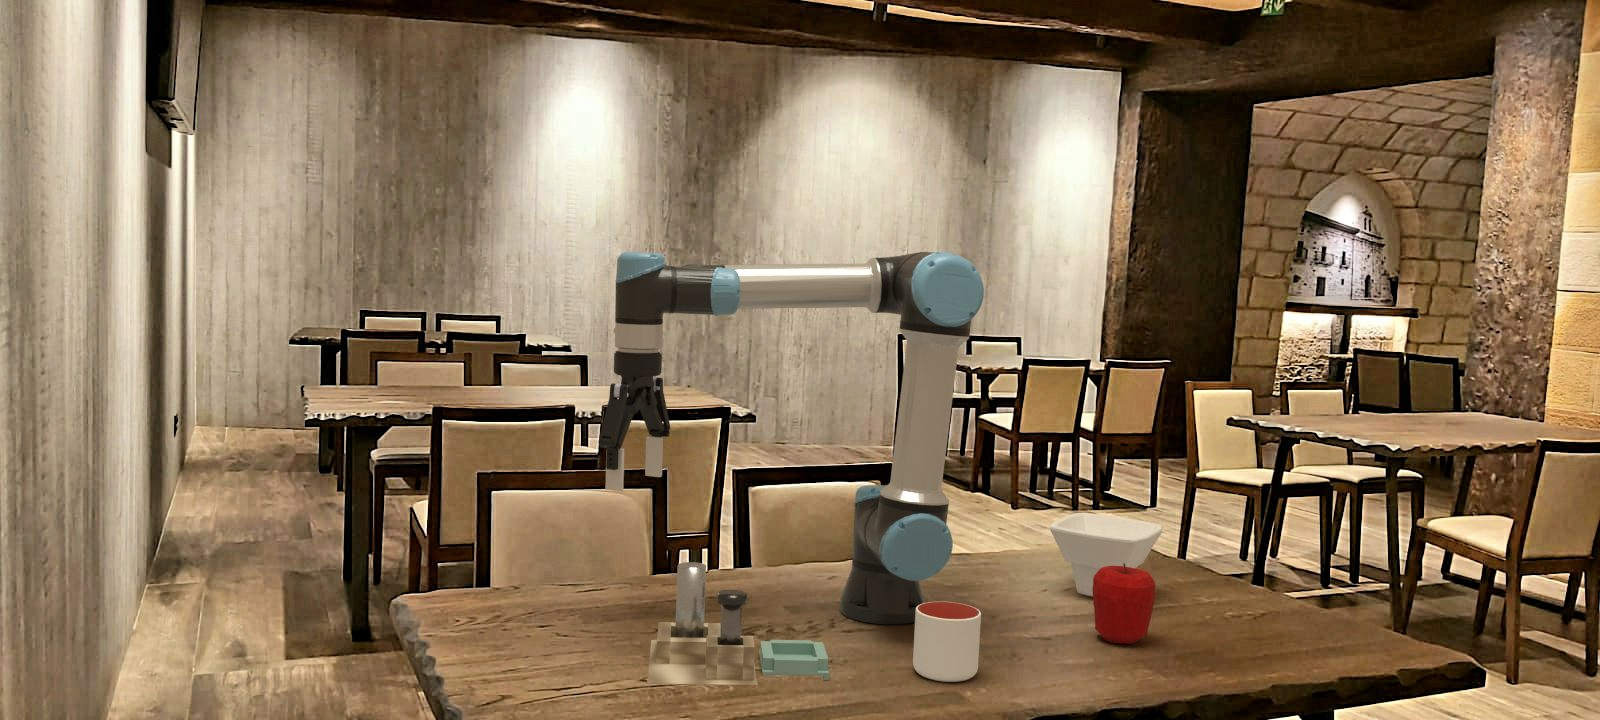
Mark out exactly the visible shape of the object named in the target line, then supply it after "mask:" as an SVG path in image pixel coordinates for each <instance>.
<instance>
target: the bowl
mask: <svg viewBox="0 0 1600 720" xmlns="http://www.w3.org/2000/svg"><path fill="white" fill-rule="evenodd" d="M1163 528H1164V526H1163V525H1162V524H1159V523H1155V522H1154V523H1153V522H1149V521H1144V520H1140V519H1139V520H1138V519H1133V518H1128V517H1122V516H1121V517H1120V516H1115V515H1105V514H1098V513H1090V512H1089V513H1088V512H1077V513H1072V514H1068V515H1067V516H1064V517H1061V518H1058V519H1056V520H1055V521H1053V522H1052V523H1051V524H1050V526H1049V530H1050V532H1051V535H1052V537H1053V539H1054V541H1055V543H1056V545H1057V546H1058V549H1059V551H1060V553H1061V556H1063V558H1064V562H1066V563H1067V562H1068V563H1070V565H1071V569H1072V570H1071V571H1072V574H1073V578H1074V584H1075V588H1076V592H1077V593H1078V594H1081V595H1085V596H1089V597H1093V592H1092V589H1093V577H1094V575H1095V574H1096V573H1097V572H1098V570H1099V569H1100V568H1102V567H1106V566H1124V565H1123V564H1124V563H1125V567H1130V568H1136V569H1137V568H1138V567H1139V566H1140V565H1142V564H1144V562H1145V560H1146V559H1147V557H1148V555H1149V554H1150V552H1151V550H1152V549H1153V548H1154V546H1155V544H1156V542H1157V541H1158V540H1159V537H1160V536H1161V534H1162V533H1163V530H1164V529H1163Z"/></svg>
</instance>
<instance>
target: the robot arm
mask: <svg viewBox="0 0 1600 720" xmlns="http://www.w3.org/2000/svg"><path fill="white" fill-rule="evenodd" d="M984 295H985V290H984V283H983V280H982V277H981V274H980V273H979V271H978V270H977V268H976V267H975V265H974V264H973V263H972V262H971V261H969V260H968V259H966V258H965V257H962V256H960V255H958V254H955V253H953V252H952V253H951V252H947V251H945V252H942V251H941V252H939V251H937V252H935V251H933V252H931V251H920V252H919V251H918V252H914V253H907V254H903V255H902V254H901V255H893V256H887V257H882V256H881V257H870V258H869V259H868V260H867V262H865V263H793V264H791V263H790V264H789V263H787V264H786V263H785V264H784V263H783V264H782V263H781V264H723V265H721V264H704V265H703V264H701V265H700V264H695V263H693V264H692V263H690V264H684V265H682V266H673V265H667V262H666V259H665V255H664V254H663V253H657V252H637V251H636V252H633V251H632V252H631V251H629V252H628V251H626V252H623V253H620V255H619V256H618V257H617V264H616V276H615V302H614V303H615V305H614V306H615V311H614V312H615V313H614V315H615V316H614V317H615V318H614V319H615V321H614V322H615V325H614V328H613V334H614V347H615V348H617V349H618V350H616V351H615V352H614V353H613V372H614V374H615V375H616V376H620V377H621V380H620V383H610V387H609V396H608V397H609V398H608V401H607V406H606V409H605V414H604V417H603V421H602V424H601V425H602V426H601V430H600V434H599V436H598V437H599V438H598V446H599V447H600V448H602V449H603V448H604V449H606V450H605V451H606V455H605V456H606V457H605V459H606V460H605V490H607V491H617V492H623V491H624V483H625V482H624V481H625V480H624V477H625V476H624V475H625V448H622V446H623V443H624V440H625V439H626V436H627V433H628V431H629V428H630V425H631V423H632V420H633V417H634V415H636V414H637V413H639V411H640V414H641V417H642V419H643V421H644V424H645V426H646V429H647V432H648V434H649V435H647V436H646V437H645V438H646V440H645V467H644V469H645V471H644V472H645V474H644V476H647V477H654V478H661V477H663V457H664V455H663V453H664V450H663V449H664V437H665V438H666V437H667V438H668V437H669V436H670V432H671V431H670V429H671V424H670V423H671V422H670V418H669V412H668V408H667V403H666V398H665V393H664V379H663V378H662V377H660V375H661V374H662V370H663V369H662V364H663V363H662V362H663V360H662V359H663V354H662V353H661V352H660V351H659V350H661V349H662V348H663V343H664V341H663V338H664V337H663V336H664V335H663V334H664V332H663V331H664V329H663V328H664V324H663V323H664V314H683V315H684V314H686V315H688V314H689V315H706V316H707V315H708V316H709V315H710V316H711V315H713V316H716V317H717V316H722V315H723V316H724V315H725V316H727V315H728V316H731V315H734V314H736V313H737V311H738V310H742V309H743V310H744V309H745V310H746V309H747V310H749V309H752V310H753V309H763V310H764V309H821V308H822V309H824V308H825V309H826V308H827V309H830V308H831V309H832V308H833V309H834V308H835V309H836V308H866V309H867V310H868V311H869V312H870V313H872V314H878V313H880V314H882V313H883V314H894V315H900V321H899V332H900V333H901V335H902V336H903V337H904V338H905V340H906V349H905V356H904V365H903V372H902V380H901V389H900V390H901V391H900V397H899V407H898V414H897V424H896V432H895V440H894V448H893V456H892V465H891V473H890V482H889V483H888V484H885V485H883V484H879V485H877V484H876V485H875V484H874V485H870V484H869V485H862V486H860V487H858V488H857V489H856V491H855V497H854V498H855V499H854V502H853V508H854V512H853V513H854V515H853V538H852V556H851V557H852V559H851V560H852V561H851V569H850V572H849V575H848V578H847V581H846V583H845V585H844V589H843V591H842V593H841V597H840V601H839V602H840V605H839V607H840V608H839V611H840V612H841V614H842V615H843V616H845V617H847V618H849V619H852V620H855V621H859V622H863V623H869V624H876V625H905V624H910V623H911V624H912V623H915V613H916V607H917V606H918V605H920V604H923V603H926V602H925V601H926V600H925V598H924V595H923V590H922V586H921V582H920V581H925V580H928V579H930V578H932V577H934V576H935V575H937V574H938V573H940V572H941V571H942V570H943V569H944V568H945V567H946V565H947V564H948V563H949V560H950V558H951V556H952V553H953V543H954V542H953V537H952V533H951V530H950V528H949V526H948V525H947V521H948V514H949V505H950V504H949V503H950V499H949V498H948V496H947V495H946V494H945V493H944V491H943V489H942V488H943V487H942V486H943V481H944V480H943V477H944V472H945V471H944V469H945V464H946V463H945V461H946V454H947V446H948V437H949V430H950V422H951V414H952V405H953V396H954V388H955V381H956V372H957V363H958V355H959V349H960V346H962V345H963V344H964V343H965V342H966V341H968V340H969V339H970V336H971V335H970V333H971V327H972V326H971V325H972V319H973V318H975V316H976V315H977V314H978V313H979V311H980V310H981V307H982V304H983V301H984V297H985V296H984ZM658 376H659V377H658Z"/></svg>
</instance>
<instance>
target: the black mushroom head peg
mask: <svg viewBox="0 0 1600 720" xmlns="http://www.w3.org/2000/svg"><path fill="white" fill-rule="evenodd" d="M716 602H717V604H719V605H721V611H720V613H721V614H720V625H721V634H720V645H740V639H741V636H742V635H741V634H742V633H741V632H742V611H743V606H744V605H746V604H747V603H748V594H747V592H745V591H743V590H739V589H738V590H737V589H723V590H720V591H717V594H716Z"/></svg>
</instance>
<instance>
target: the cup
mask: <svg viewBox="0 0 1600 720" xmlns="http://www.w3.org/2000/svg"><path fill="white" fill-rule="evenodd" d="M981 620H982V612H981V610H980V609H978V608H976V607H974V606H971V605H968V604H965V603H960V602H955V601H953V602H952V601H928V602H925V603H923V604H920V605H918V606H917V607H916V613H915V622H914V635H913V636H914V637H913V638H914V639H913V654H912V656H913V657H912V665H913V668H914V670H915V672H916V673H918V675H920V676H922V677H924V678H926V679H930V680H932V681H938V682H944V683H957V682H959V683H960V682H963V681H967V680H970V679H972V678H973V677H975V676H976V674H977V672H978V669H979V658H980V657H979V653H980V639H981V623H982V622H981Z"/></svg>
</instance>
